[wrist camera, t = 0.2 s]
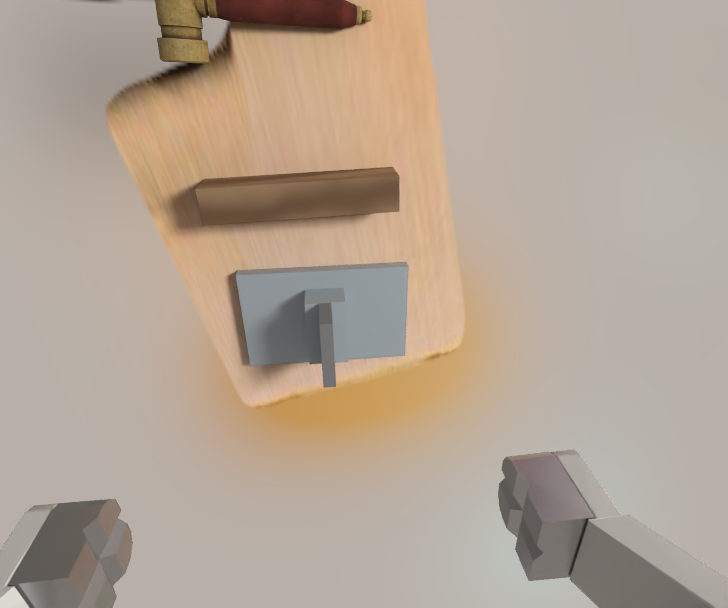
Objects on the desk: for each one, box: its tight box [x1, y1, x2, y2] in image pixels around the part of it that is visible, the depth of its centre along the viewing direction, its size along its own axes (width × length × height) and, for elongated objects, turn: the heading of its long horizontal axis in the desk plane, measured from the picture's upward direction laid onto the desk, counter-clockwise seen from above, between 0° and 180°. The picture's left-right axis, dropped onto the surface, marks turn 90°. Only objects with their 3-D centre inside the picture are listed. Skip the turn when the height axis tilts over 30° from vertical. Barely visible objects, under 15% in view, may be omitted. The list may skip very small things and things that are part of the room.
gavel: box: [155, 0, 372, 64], centre depth 43 cm, size 21×5×10 cm
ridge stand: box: [236, 262, 408, 387], centre depth 57 cm, size 14×22×10 cm, turn 91°
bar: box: [195, 167, 399, 225], centre depth 51 cm, size 4×22×5 cm, turn 93°
